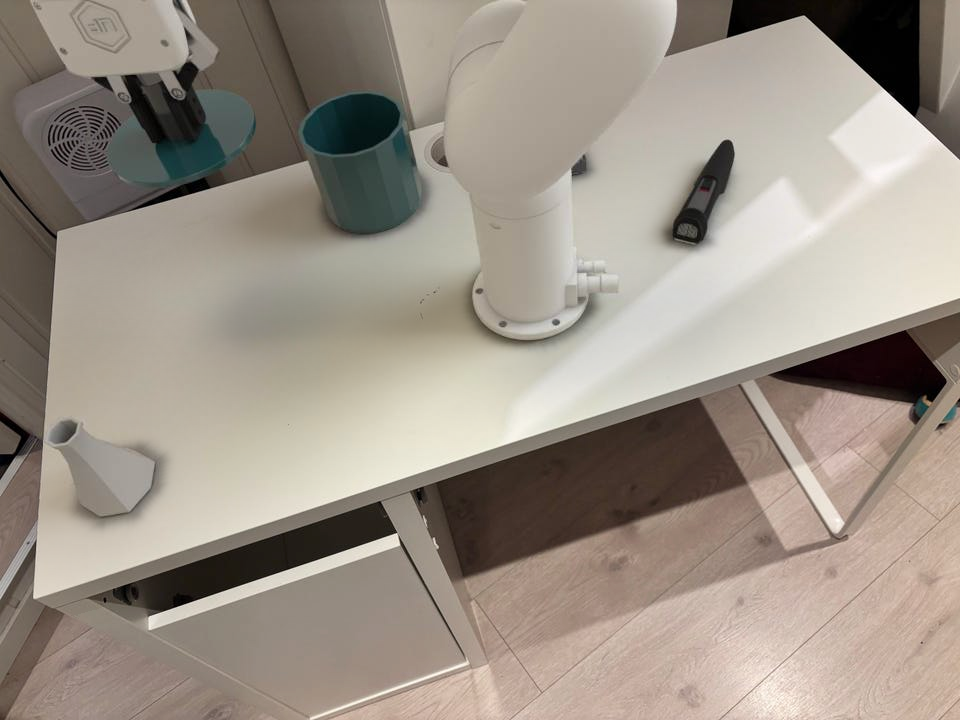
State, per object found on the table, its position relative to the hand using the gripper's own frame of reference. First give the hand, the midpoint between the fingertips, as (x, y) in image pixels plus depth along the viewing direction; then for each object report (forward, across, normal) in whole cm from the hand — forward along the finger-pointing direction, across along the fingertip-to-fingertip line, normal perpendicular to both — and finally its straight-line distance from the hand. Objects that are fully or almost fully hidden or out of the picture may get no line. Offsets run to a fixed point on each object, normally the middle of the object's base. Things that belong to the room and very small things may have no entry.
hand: (179, 130), depth 65 cm
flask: (+24, -10, -22) cm, 35 cm away
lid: (+1, 0, 0) cm, 1 cm away
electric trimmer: (+24, +49, +15) cm, 57 cm away
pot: (+24, +9, +18) cm, 31 cm away
